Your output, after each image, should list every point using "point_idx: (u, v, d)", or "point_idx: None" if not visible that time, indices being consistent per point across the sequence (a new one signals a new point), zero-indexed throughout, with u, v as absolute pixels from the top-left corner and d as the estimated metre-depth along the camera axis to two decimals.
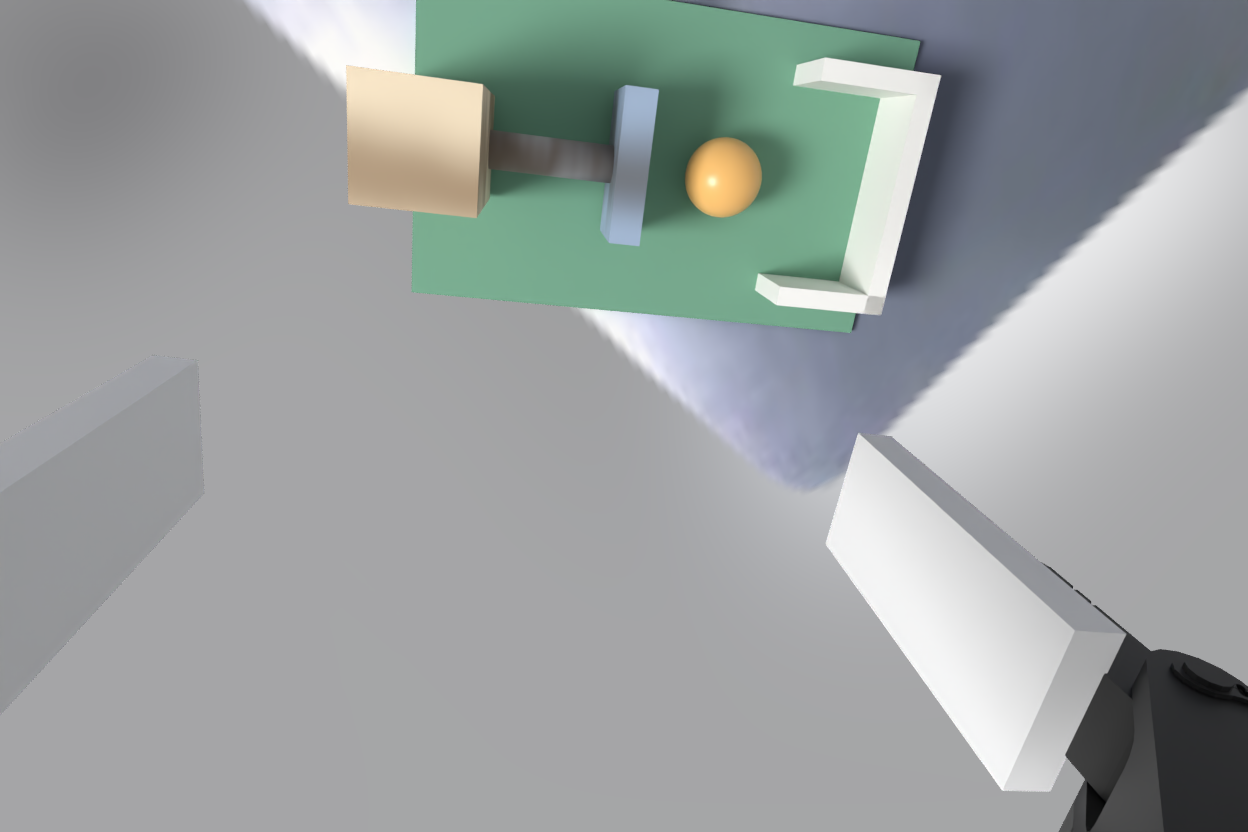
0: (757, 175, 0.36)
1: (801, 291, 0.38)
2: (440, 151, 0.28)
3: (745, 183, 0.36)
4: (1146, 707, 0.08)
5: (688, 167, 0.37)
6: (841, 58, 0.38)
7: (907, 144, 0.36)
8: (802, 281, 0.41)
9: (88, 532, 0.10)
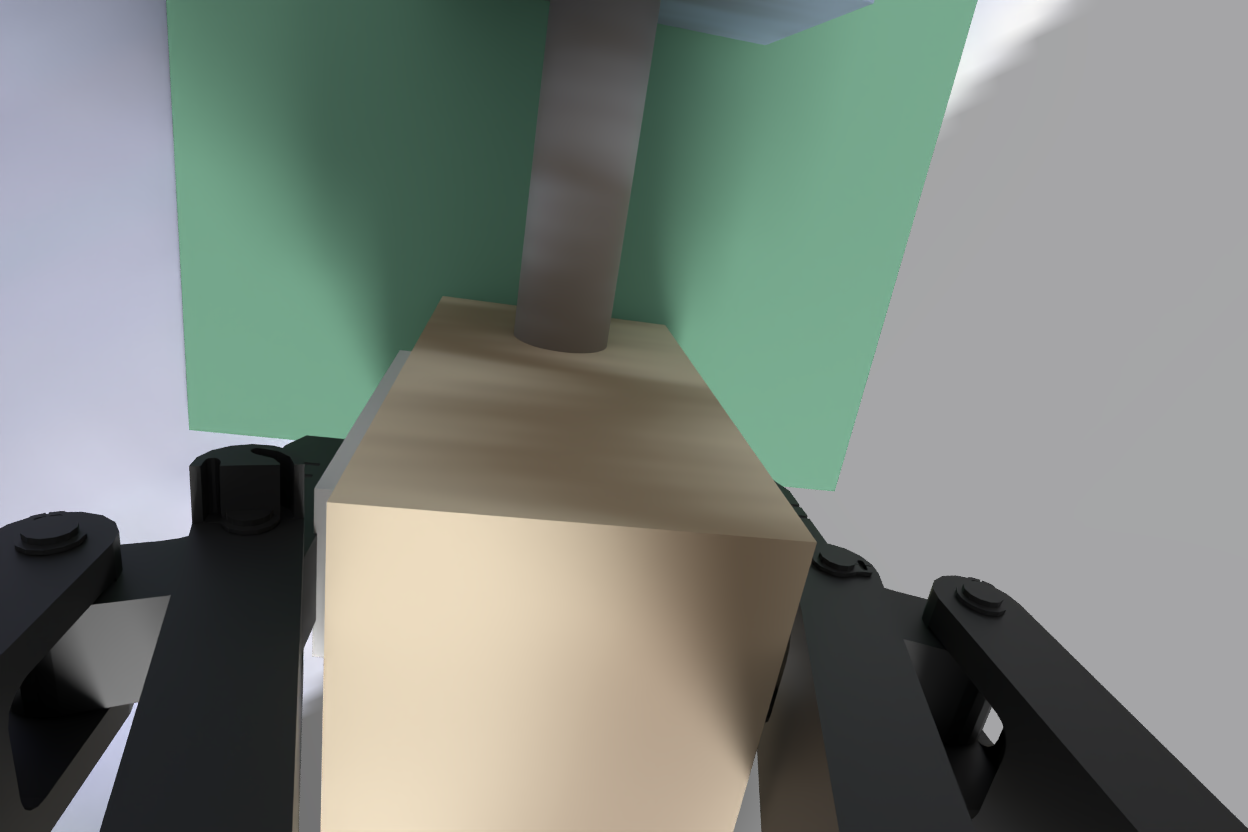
0: None
1: None
2: (577, 645, 0.08)
3: None
4: None
5: None
6: None
7: None
8: None
9: None
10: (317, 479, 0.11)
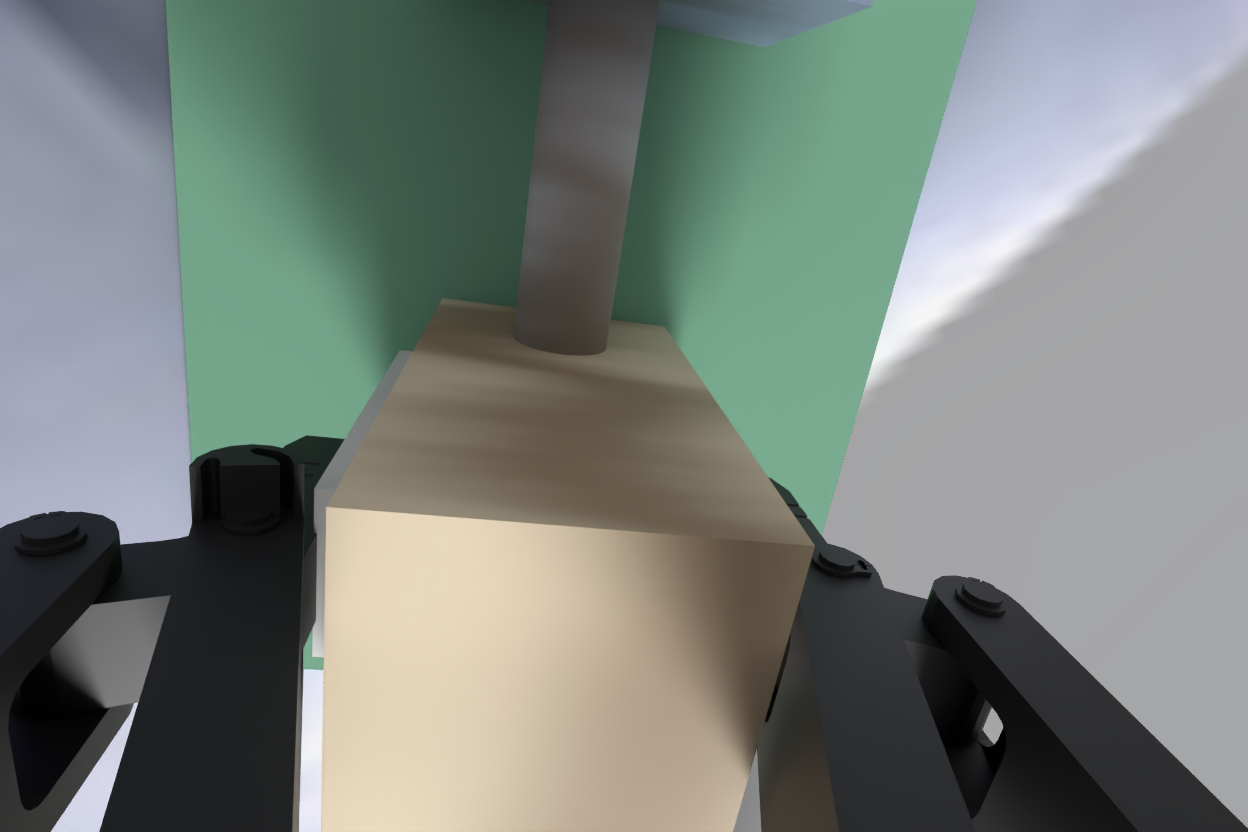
0: None
1: None
2: (576, 648, 0.08)
3: None
4: None
5: None
6: None
7: None
8: None
9: None
10: (317, 479, 0.11)
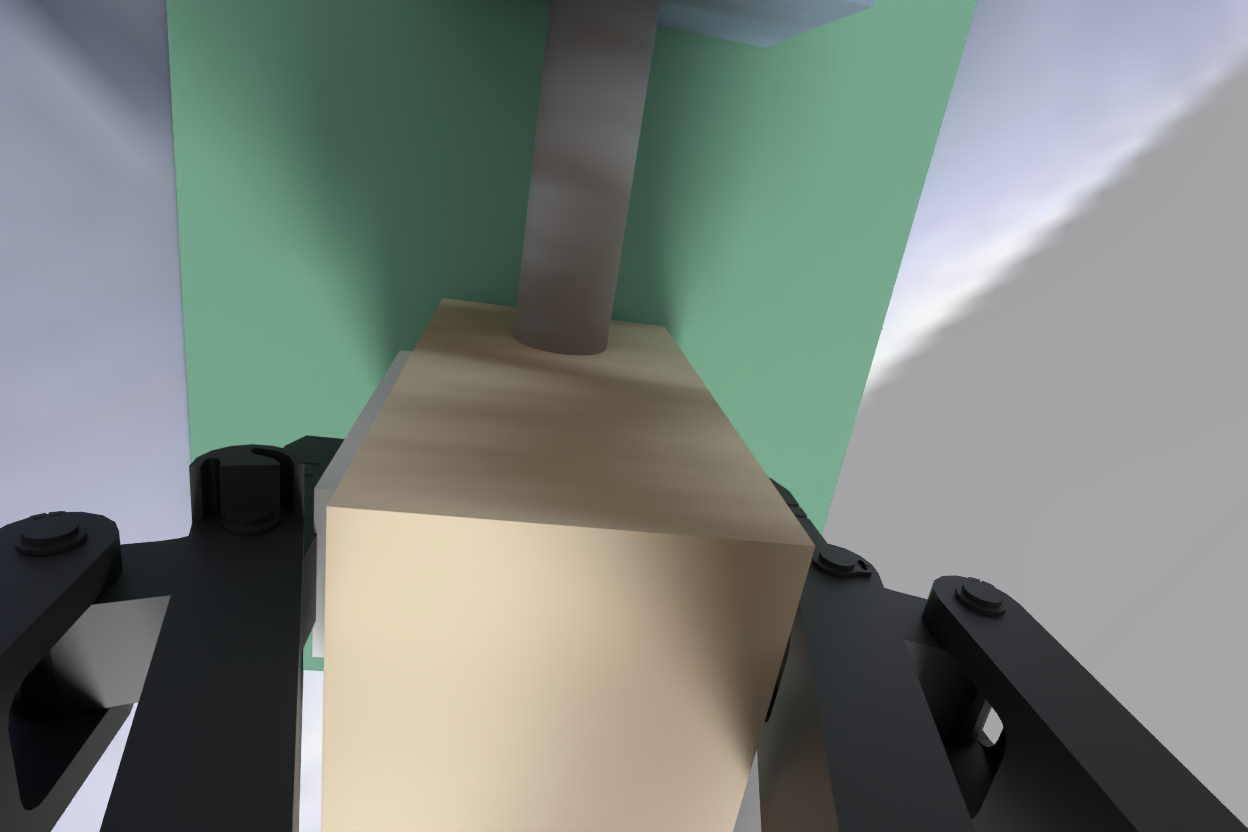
0: None
1: None
2: (577, 648, 0.08)
3: None
4: None
5: None
6: None
7: None
8: None
9: None
10: (317, 479, 0.11)
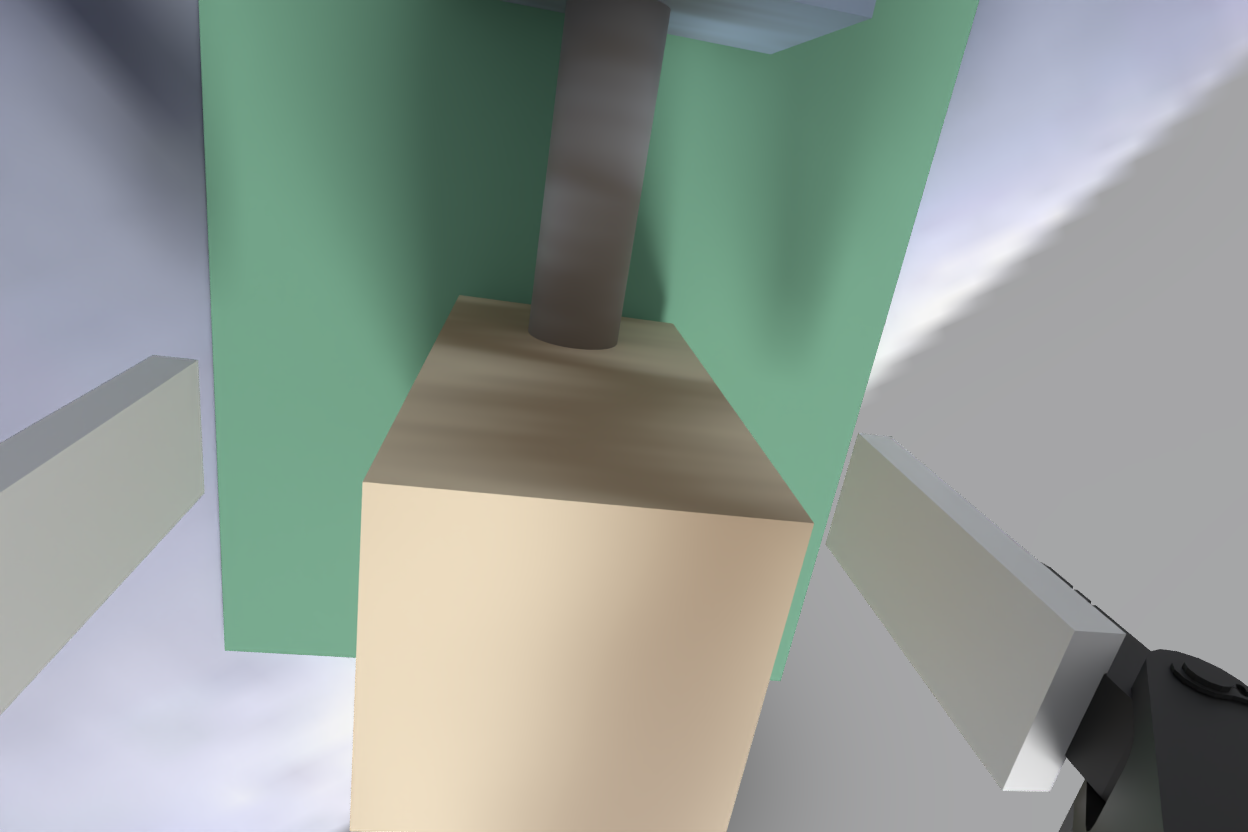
0: None
1: None
2: (590, 618, 0.08)
3: None
4: (1146, 707, 0.08)
5: None
6: None
7: None
8: None
9: (88, 532, 0.10)
10: None
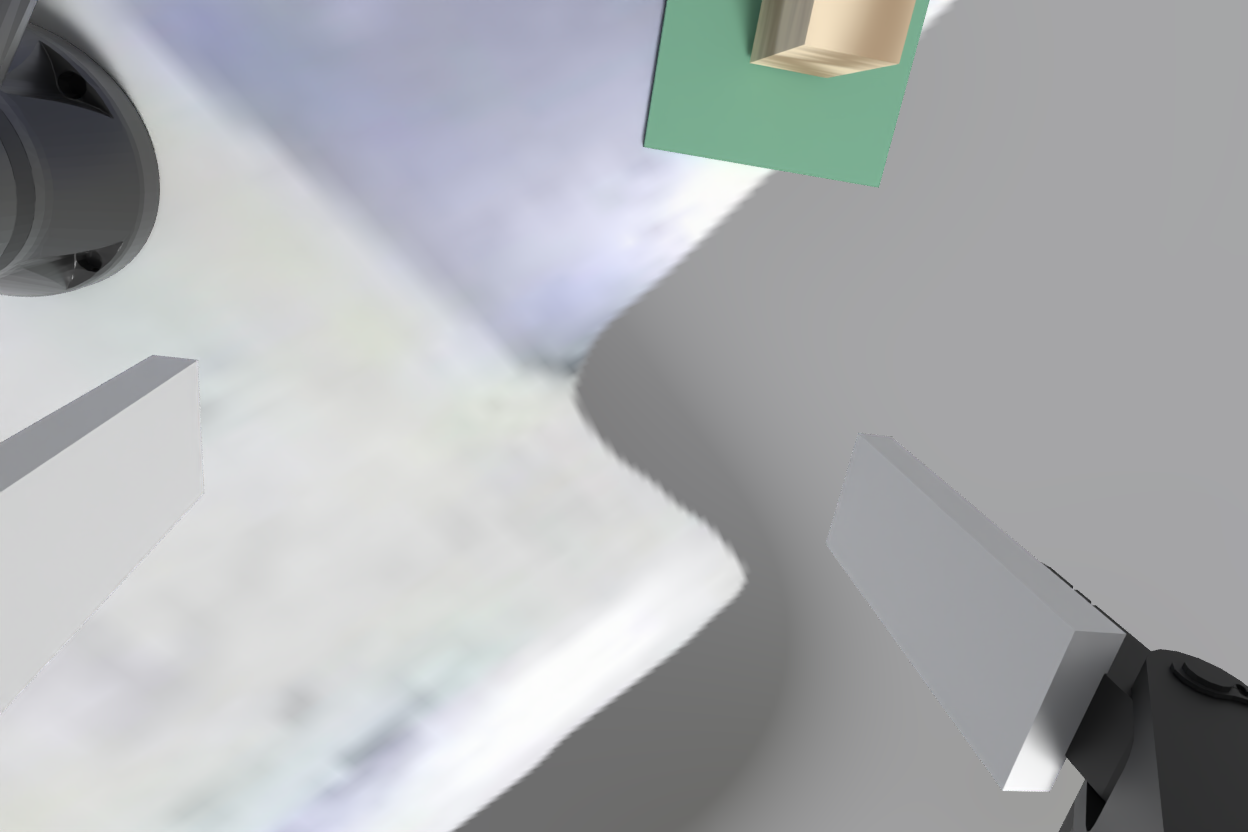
0: None
1: None
2: None
3: None
4: (1145, 707, 0.08)
5: None
6: None
7: None
8: None
9: (88, 532, 0.10)
10: None
